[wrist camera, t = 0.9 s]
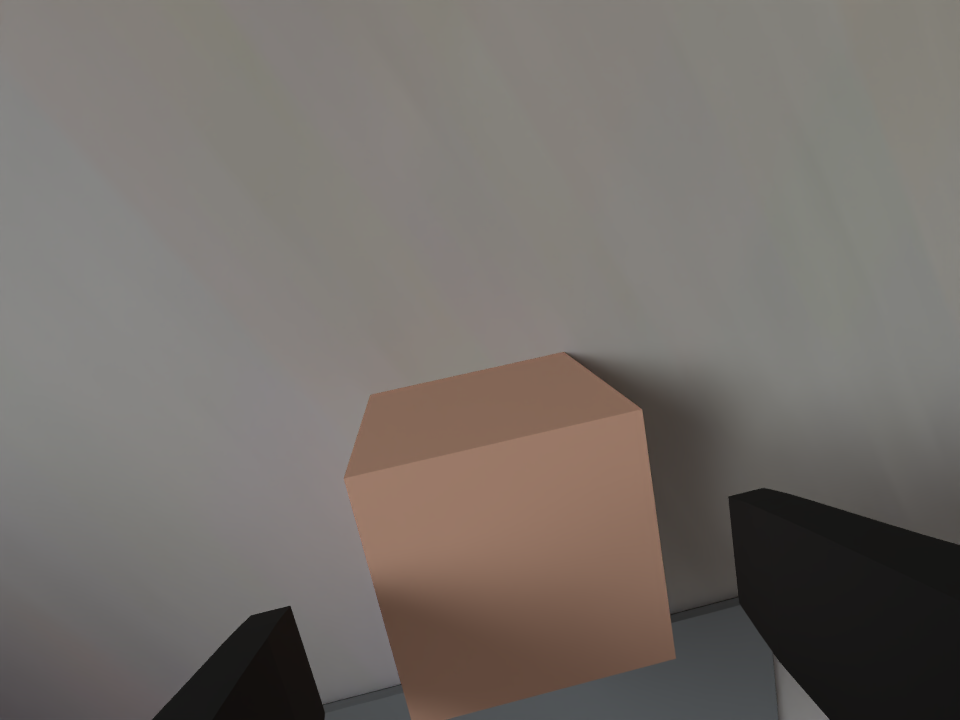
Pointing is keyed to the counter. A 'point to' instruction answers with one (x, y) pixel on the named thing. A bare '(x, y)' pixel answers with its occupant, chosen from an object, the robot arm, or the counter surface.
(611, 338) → the counter surface
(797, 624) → the robot arm
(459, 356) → the counter surface
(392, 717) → the panel
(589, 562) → the cube
